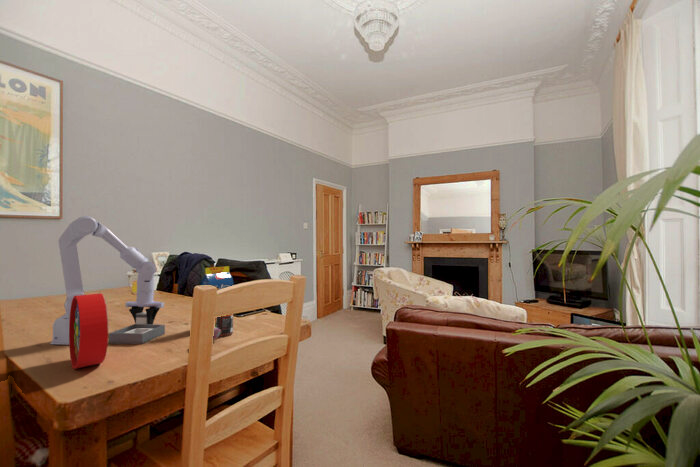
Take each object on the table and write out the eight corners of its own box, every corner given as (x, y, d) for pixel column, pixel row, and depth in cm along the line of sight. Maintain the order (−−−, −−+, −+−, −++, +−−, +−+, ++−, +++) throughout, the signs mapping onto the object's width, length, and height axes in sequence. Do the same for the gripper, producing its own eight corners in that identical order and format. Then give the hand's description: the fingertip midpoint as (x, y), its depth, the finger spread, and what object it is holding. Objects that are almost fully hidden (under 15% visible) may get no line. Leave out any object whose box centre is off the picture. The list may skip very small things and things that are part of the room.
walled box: (108, 343, 107) (109, 333, 108) (134, 333, 119) (134, 324, 120) (142, 344, 107) (142, 333, 107) (164, 333, 119) (164, 324, 119)
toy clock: (67, 358, 93) (70, 291, 94) (92, 353, 98) (95, 289, 98) (78, 378, 80) (81, 300, 81) (106, 371, 84) (109, 297, 85)
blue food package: (198, 329, 125) (200, 267, 126) (222, 322, 136) (224, 265, 137) (209, 331, 123) (210, 268, 123) (233, 324, 133) (234, 266, 134)
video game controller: (199, 354, 102) (208, 336, 102) (188, 347, 103) (197, 328, 102) (217, 345, 112) (225, 328, 111) (207, 338, 113) (215, 321, 112)
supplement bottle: (236, 333, 120) (236, 304, 120) (222, 337, 115) (223, 307, 115) (226, 331, 123) (227, 302, 123) (212, 335, 118) (213, 305, 118)
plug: (135, 331, 121) (135, 313, 122) (142, 328, 126) (143, 311, 126) (145, 332, 121) (146, 314, 121) (152, 329, 125) (153, 311, 126)
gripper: (169, 290, 128) (168, 323, 127) (135, 289, 128) (134, 322, 128) (157, 292, 121) (156, 327, 120) (121, 292, 121) (120, 327, 121)
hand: (144, 325), depth 123 cm, fingers open, 4 cm apart
